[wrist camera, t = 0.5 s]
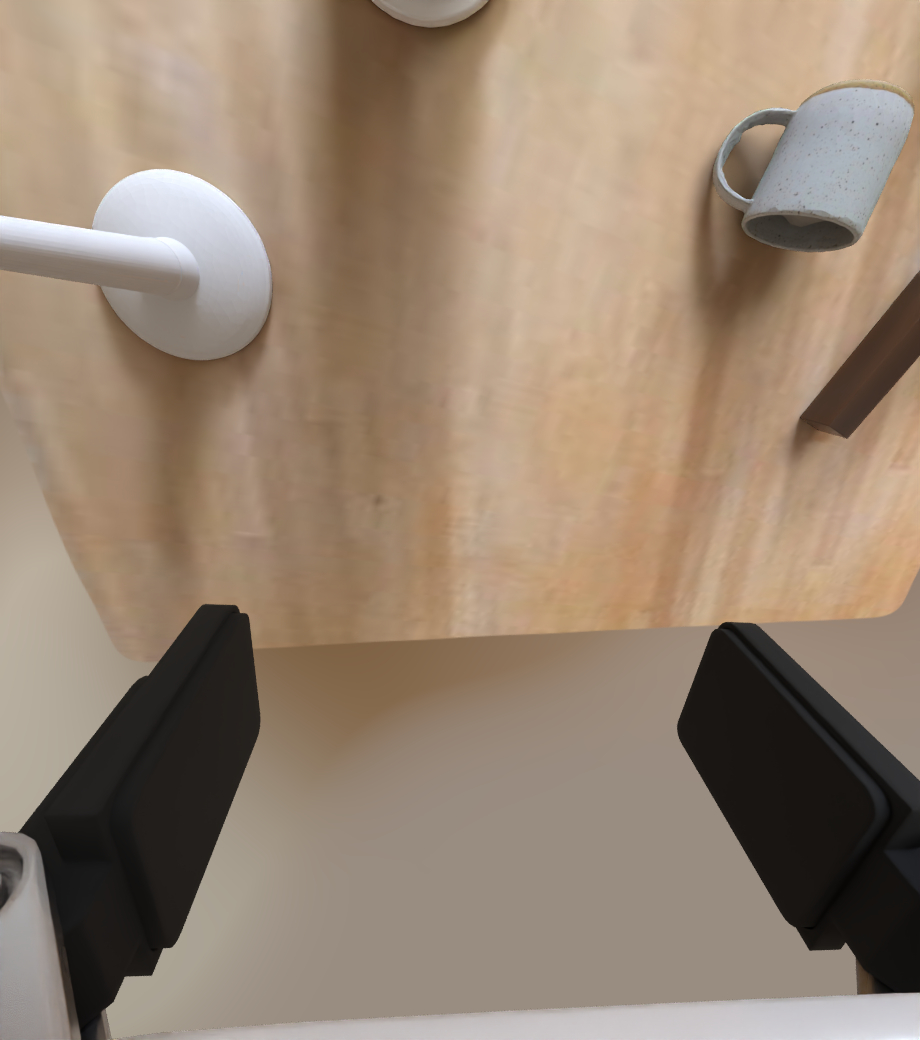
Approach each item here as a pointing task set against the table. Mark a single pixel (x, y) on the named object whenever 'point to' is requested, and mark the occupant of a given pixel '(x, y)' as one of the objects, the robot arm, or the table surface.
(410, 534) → the table surface
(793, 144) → the ceramic mug
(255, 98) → the table surface
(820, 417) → the board
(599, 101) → the table surface
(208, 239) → the candlestick
